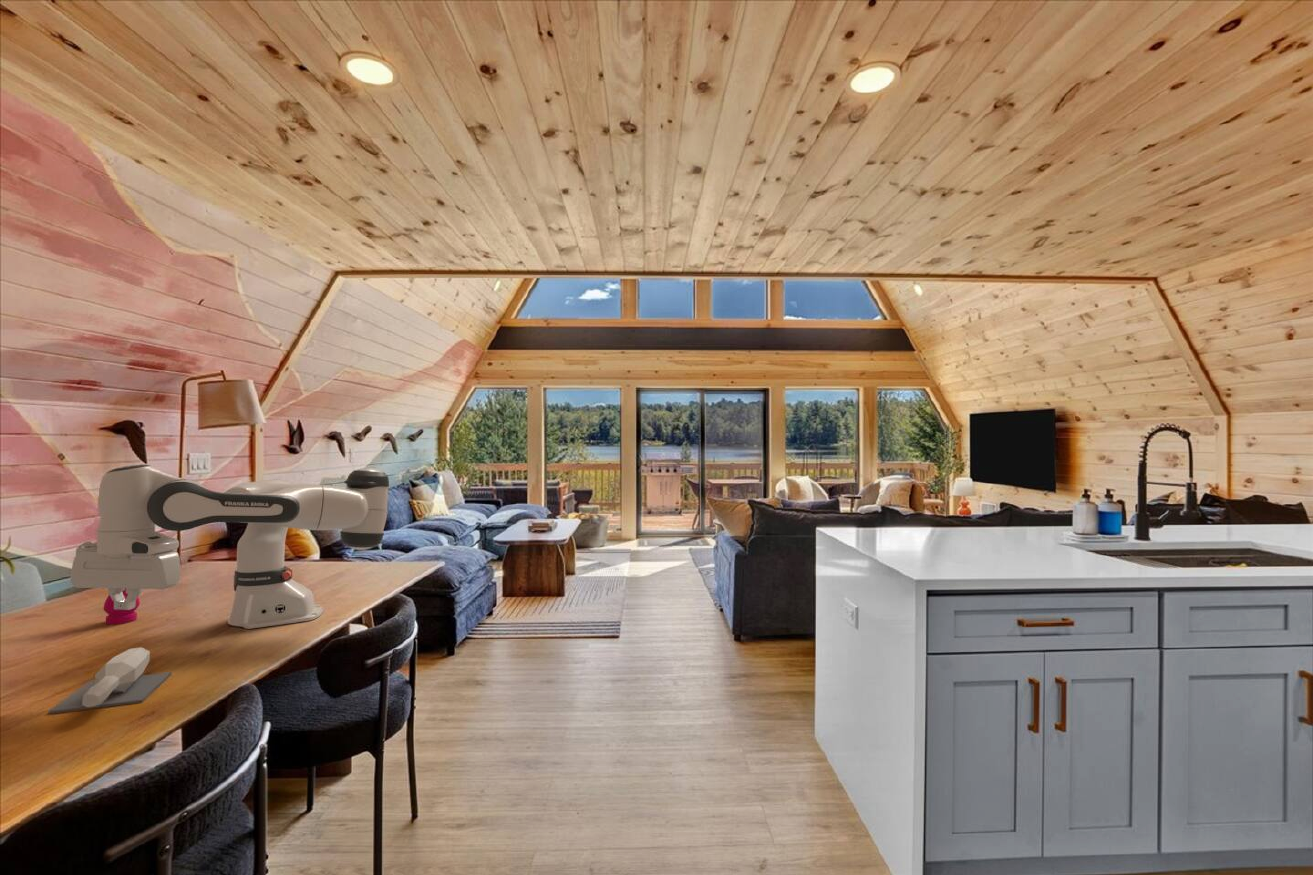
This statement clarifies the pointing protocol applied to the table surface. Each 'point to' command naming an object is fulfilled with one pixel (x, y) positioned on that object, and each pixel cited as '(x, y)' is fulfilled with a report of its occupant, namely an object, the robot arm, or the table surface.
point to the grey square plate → (131, 695)
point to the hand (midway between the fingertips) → (124, 608)
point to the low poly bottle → (117, 675)
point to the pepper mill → (119, 612)
